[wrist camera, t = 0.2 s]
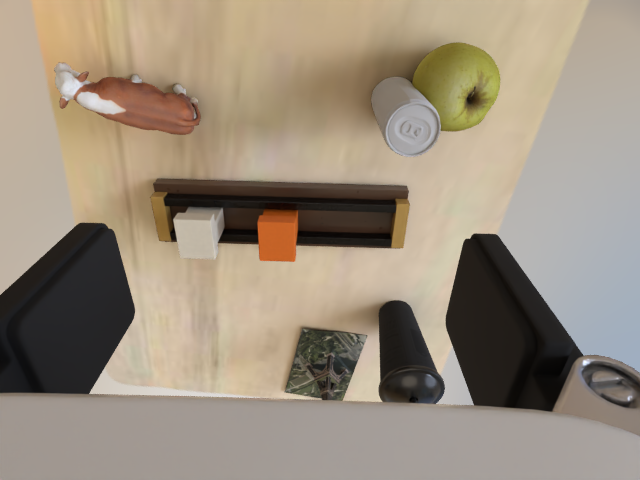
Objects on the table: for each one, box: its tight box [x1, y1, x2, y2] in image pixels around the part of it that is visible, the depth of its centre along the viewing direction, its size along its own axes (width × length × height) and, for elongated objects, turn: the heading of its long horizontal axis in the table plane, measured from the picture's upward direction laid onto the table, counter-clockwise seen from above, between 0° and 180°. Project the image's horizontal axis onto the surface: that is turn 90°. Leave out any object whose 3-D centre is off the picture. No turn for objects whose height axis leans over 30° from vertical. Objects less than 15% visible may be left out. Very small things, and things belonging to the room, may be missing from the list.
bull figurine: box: [54, 63, 201, 135], centre depth 41 cm, size 4×13×8 cm, turn 70°
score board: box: [153, 179, 409, 248], centre depth 51 cm, size 8×30×2 cm, turn 88°
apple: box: [412, 43, 500, 131], centre depth 39 cm, size 8×8×10 cm
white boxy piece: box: [173, 207, 225, 259], centre depth 47 cm, size 5×4×6 cm
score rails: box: [150, 192, 410, 248], centre depth 49 cm, size 6×30×2 cm, turn 88°
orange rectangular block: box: [257, 209, 298, 262], centre depth 47 cm, size 5×4×6 cm
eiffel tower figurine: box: [285, 329, 367, 401], centre depth 59 cm, size 15×10×13 cm
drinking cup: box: [379, 301, 445, 404], centre depth 51 cm, size 8×8×20 cm
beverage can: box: [371, 77, 441, 157], centre depth 39 cm, size 5×5×12 cm
